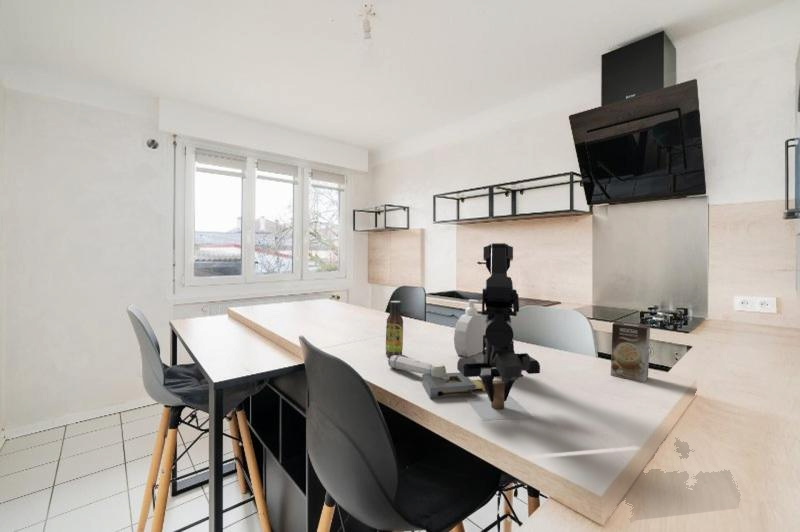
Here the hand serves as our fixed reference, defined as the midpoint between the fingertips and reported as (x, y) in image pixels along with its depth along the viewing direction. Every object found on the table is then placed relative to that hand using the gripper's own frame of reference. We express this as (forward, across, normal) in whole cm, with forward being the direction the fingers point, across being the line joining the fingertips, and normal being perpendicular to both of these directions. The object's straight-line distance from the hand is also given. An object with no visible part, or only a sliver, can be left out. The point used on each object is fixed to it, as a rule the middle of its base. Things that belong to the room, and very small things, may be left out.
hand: (497, 400), depth 86 cm
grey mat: (+2, 0, 0) cm, 2 cm away
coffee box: (+2, +49, +16) cm, 52 cm away
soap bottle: (+2, +10, +47) cm, 48 cm away
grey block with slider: (+2, -6, +12) cm, 14 cm away
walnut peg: (+2, 0, 0) cm, 2 cm away
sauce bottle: (+2, -19, +48) cm, 52 cm away
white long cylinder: (+2, -15, +24) cm, 29 cm away
